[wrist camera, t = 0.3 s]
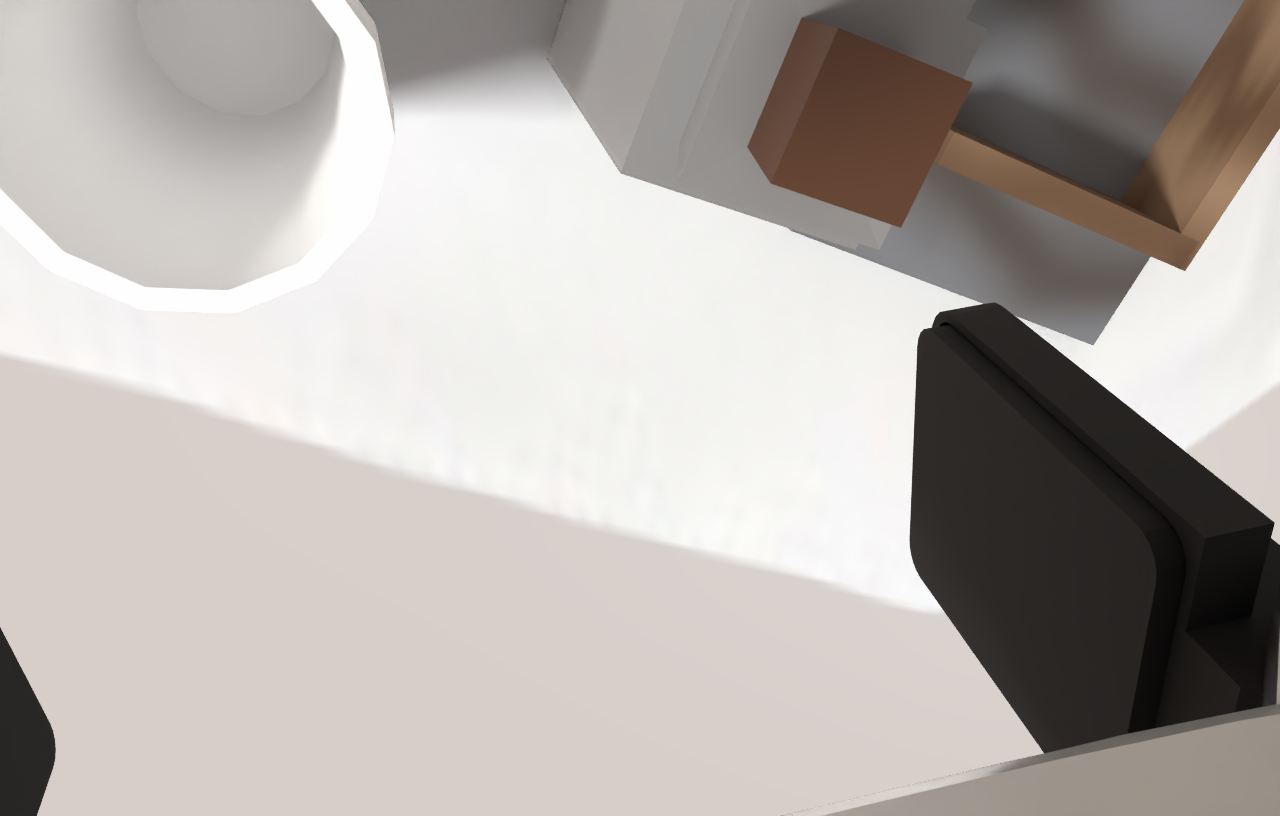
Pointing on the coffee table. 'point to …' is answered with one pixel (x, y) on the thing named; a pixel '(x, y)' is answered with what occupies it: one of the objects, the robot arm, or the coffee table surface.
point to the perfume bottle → (774, 101)
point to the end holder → (1090, 151)
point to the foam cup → (191, 143)
